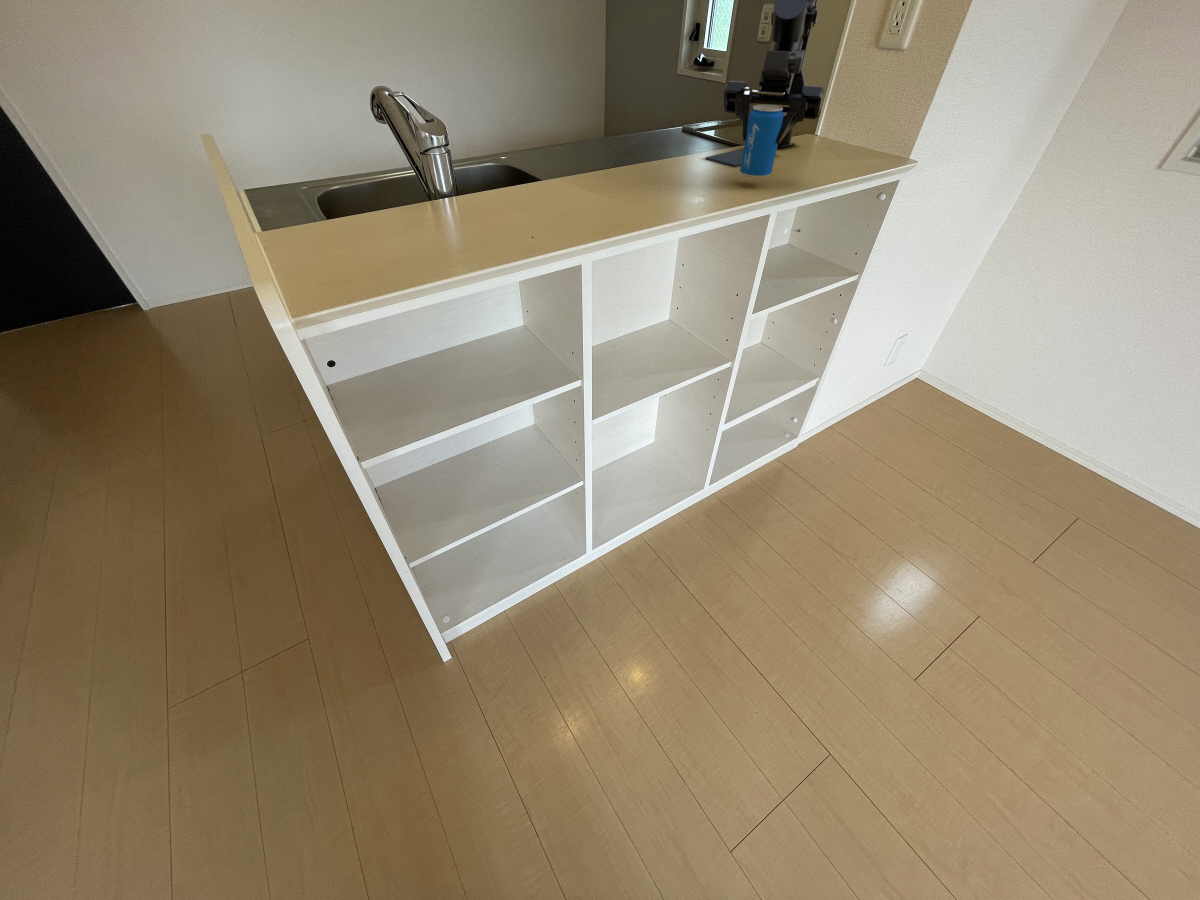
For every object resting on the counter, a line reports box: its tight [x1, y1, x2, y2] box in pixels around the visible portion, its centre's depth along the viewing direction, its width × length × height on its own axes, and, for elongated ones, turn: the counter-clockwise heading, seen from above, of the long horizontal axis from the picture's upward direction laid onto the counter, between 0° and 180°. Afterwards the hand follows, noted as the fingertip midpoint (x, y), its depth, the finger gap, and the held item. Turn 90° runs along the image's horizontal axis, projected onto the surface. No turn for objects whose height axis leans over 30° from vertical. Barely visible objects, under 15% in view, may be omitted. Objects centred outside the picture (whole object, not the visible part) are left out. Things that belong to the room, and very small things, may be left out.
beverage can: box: [739, 104, 784, 180], centre depth 102 cm, size 6×6×12 cm
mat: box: [705, 147, 777, 168], centre depth 124 cm, size 16×9×1 cm, turn 130°
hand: (760, 140), depth 100 cm, fingers closed on beverage can, 6 cm apart
